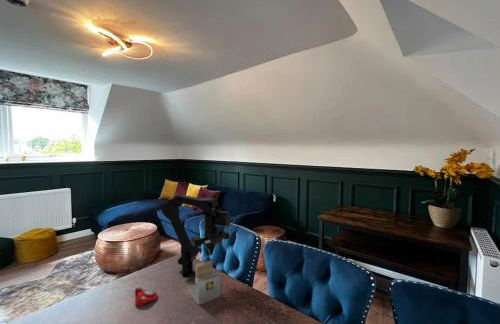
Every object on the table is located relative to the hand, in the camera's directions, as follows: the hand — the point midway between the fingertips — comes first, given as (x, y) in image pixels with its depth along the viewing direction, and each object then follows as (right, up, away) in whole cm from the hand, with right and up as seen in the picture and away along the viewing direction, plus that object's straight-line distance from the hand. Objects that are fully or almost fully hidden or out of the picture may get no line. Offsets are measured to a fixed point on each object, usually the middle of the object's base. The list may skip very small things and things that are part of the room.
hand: (211, 255), depth 116 cm
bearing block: (-2, -13, -10) cm, 16 cm away
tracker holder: (-26, -13, -14) cm, 33 cm away
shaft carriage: (+1, -12, -14) cm, 19 cm away
